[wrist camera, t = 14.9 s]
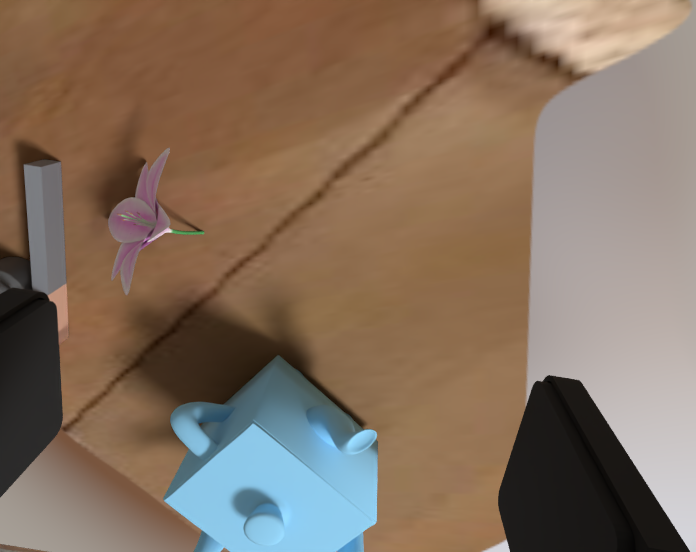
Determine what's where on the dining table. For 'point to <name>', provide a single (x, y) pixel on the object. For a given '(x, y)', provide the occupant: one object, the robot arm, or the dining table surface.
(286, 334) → the dining table surface
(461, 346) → the dining table surface
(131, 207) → the lily
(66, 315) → the guide channel
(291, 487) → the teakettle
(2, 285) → the candle holder
